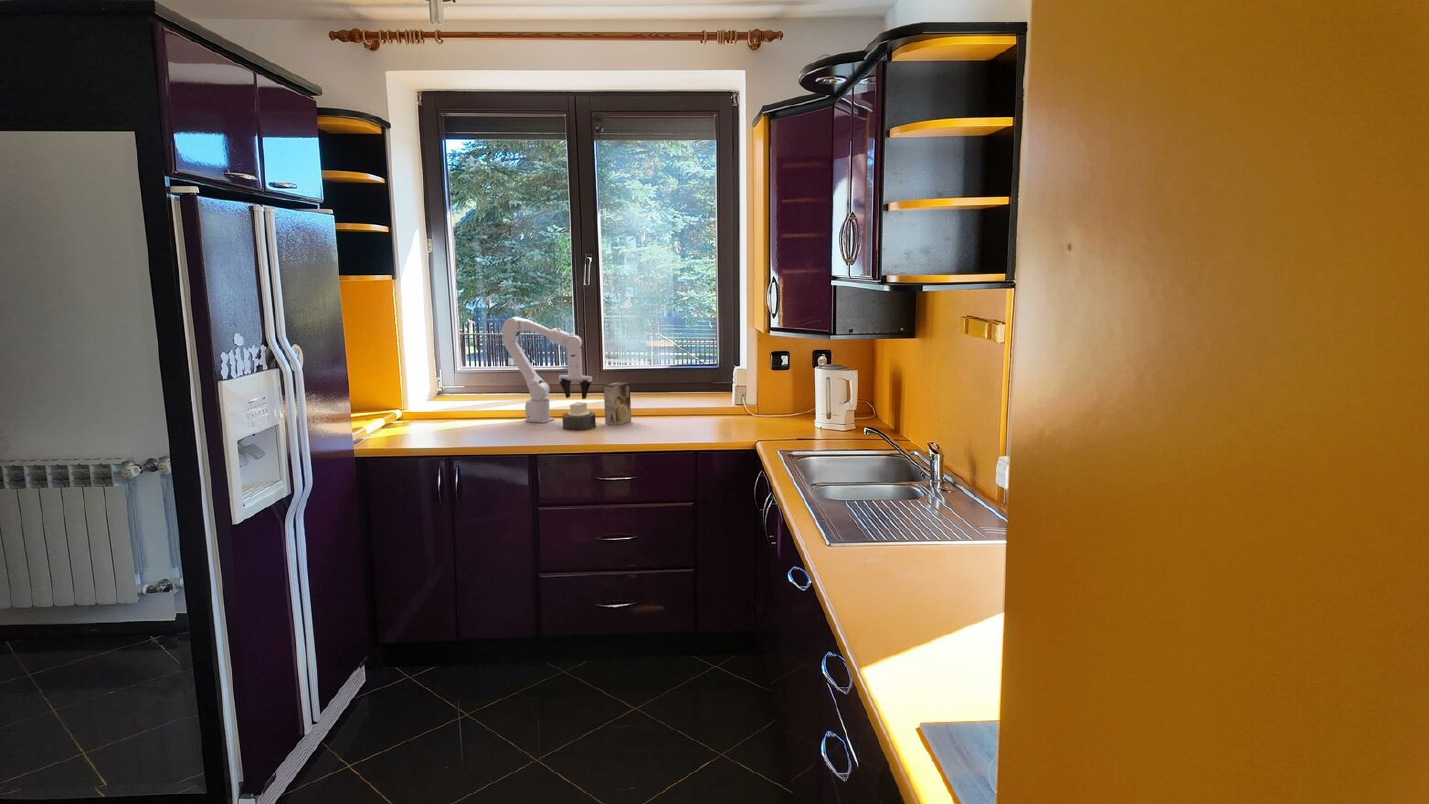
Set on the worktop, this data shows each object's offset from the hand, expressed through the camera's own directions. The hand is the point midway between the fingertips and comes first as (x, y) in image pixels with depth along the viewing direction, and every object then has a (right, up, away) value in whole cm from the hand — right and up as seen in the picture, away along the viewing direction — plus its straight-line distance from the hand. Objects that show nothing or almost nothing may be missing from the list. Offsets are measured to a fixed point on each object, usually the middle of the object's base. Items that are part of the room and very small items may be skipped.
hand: (576, 398), depth 343 cm
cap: (+3, -9, -10) cm, 14 cm away
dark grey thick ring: (+3, -11, -10) cm, 15 cm away
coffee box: (+18, -10, -3) cm, 20 cm away
